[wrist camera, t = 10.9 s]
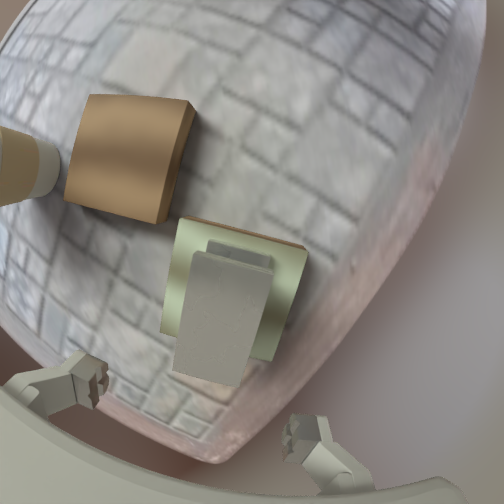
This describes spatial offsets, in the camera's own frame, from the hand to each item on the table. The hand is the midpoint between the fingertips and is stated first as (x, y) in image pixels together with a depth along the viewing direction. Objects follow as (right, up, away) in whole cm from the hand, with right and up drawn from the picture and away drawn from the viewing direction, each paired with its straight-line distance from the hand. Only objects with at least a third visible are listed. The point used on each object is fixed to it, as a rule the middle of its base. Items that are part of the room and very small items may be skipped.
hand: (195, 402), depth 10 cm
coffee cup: (-23, +16, +14) cm, 32 cm away
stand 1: (-10, +16, +14) cm, 23 cm away
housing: (0, +3, +13) cm, 14 cm away
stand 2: (0, +3, +16) cm, 17 cm away
